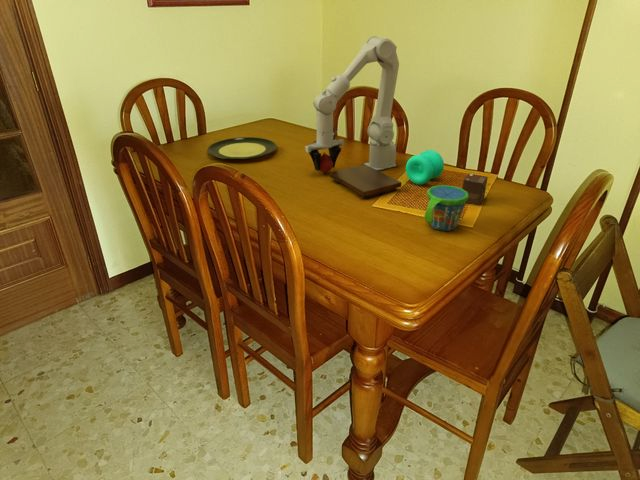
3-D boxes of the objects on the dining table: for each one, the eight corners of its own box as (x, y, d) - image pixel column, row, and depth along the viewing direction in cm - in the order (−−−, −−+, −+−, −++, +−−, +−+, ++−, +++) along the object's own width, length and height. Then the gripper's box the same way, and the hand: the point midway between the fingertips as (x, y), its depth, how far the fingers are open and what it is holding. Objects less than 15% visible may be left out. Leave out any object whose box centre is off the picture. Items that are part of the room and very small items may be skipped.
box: (479, 205, 137) (483, 183, 133) (459, 201, 139) (462, 179, 136) (484, 198, 141) (488, 176, 137) (465, 194, 144) (468, 173, 140)
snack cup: (447, 212, 133) (452, 179, 128) (476, 225, 125) (482, 191, 120) (409, 226, 125) (412, 192, 120) (438, 241, 118) (443, 206, 113)
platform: (365, 172, 162) (365, 164, 161) (400, 190, 147) (401, 182, 146) (329, 180, 156) (329, 172, 154) (363, 200, 141) (363, 191, 139)
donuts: (402, 181, 154) (405, 153, 149) (418, 173, 161) (421, 146, 156) (428, 189, 148) (431, 160, 143) (443, 180, 155) (447, 152, 150)
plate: (290, 149, 186) (290, 143, 185) (246, 169, 166) (246, 162, 165) (239, 138, 200) (239, 133, 198) (192, 156, 179) (191, 150, 178)
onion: (335, 171, 163) (335, 150, 159) (330, 177, 158) (330, 155, 154) (319, 170, 165) (319, 148, 161) (314, 175, 160) (314, 153, 156)
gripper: (336, 124, 160) (335, 161, 167) (300, 131, 153) (301, 168, 160) (347, 129, 155) (346, 167, 161) (310, 136, 148) (311, 174, 155)
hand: (324, 168), depth 160 cm, fingers closed on onion, 6 cm apart
